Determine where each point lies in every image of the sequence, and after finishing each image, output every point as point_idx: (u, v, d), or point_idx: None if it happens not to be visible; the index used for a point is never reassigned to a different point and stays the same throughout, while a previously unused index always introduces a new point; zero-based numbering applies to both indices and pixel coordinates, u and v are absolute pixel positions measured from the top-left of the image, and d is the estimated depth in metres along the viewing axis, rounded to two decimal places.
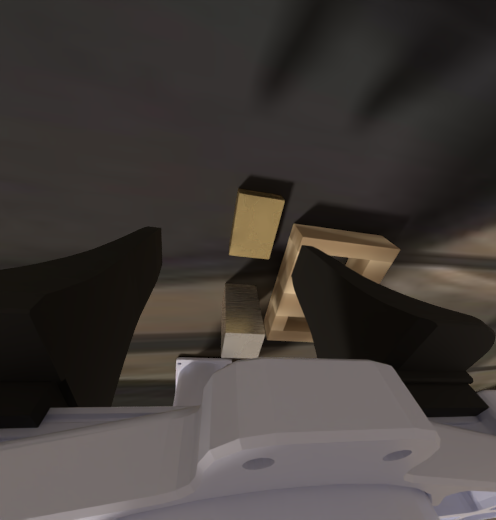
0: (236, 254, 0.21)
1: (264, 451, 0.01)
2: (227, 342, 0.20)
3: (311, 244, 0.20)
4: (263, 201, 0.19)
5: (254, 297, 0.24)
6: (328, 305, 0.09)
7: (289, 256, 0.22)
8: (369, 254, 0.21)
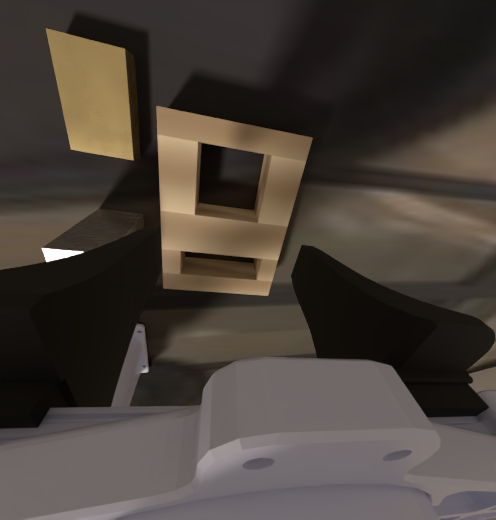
0: (81, 148, 0.15)
1: (264, 451, 0.01)
2: None
3: (174, 121, 0.13)
4: (90, 48, 0.12)
5: (129, 222, 0.18)
6: (328, 305, 0.09)
7: None
8: (268, 145, 0.15)
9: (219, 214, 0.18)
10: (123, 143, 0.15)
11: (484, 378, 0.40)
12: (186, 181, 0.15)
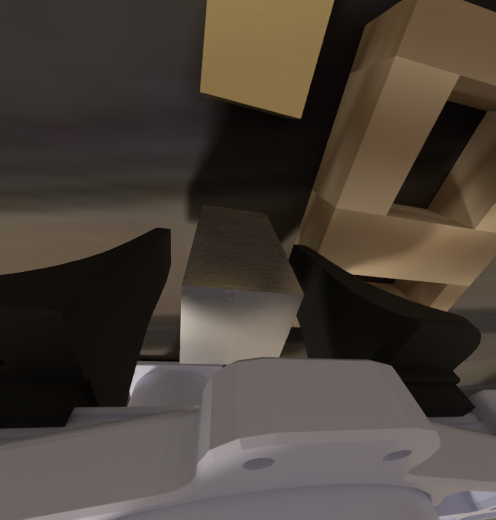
0: (219, 91, 0.08)
1: (264, 451, 0.01)
2: (191, 320, 0.07)
3: (440, 26, 0.07)
4: None
5: (265, 227, 0.11)
6: (318, 304, 0.09)
7: (355, 110, 0.09)
8: None
9: (410, 215, 0.11)
10: (295, 84, 0.08)
11: None
12: (402, 155, 0.09)
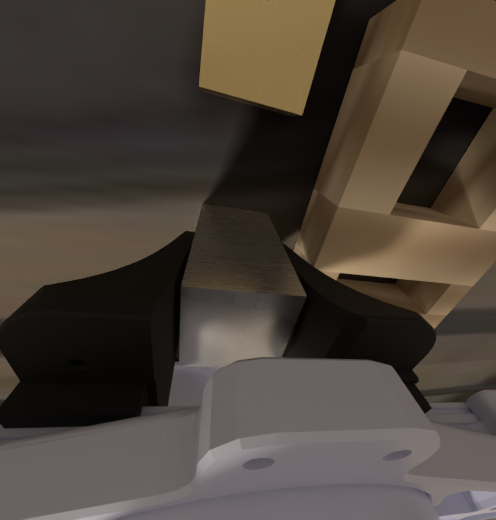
0: (218, 86, 0.08)
1: (264, 451, 0.01)
2: (191, 323, 0.07)
3: (447, 19, 0.06)
4: None
5: (266, 227, 0.10)
6: None
7: (358, 106, 0.09)
8: None
9: (414, 214, 0.11)
10: (296, 79, 0.08)
11: None
12: (407, 152, 0.08)
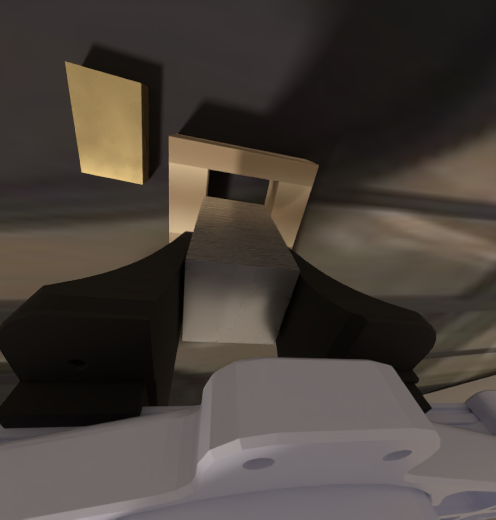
0: (92, 172, 0.15)
1: (264, 451, 0.01)
2: (194, 296, 0.07)
3: (185, 150, 0.14)
4: (107, 81, 0.13)
5: (263, 216, 0.11)
6: None
7: None
8: (275, 171, 0.15)
9: None
10: (133, 168, 0.15)
11: (476, 389, 0.41)
12: (195, 205, 0.16)
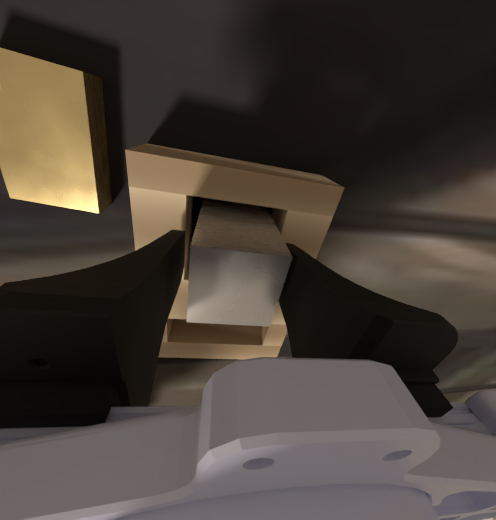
0: (25, 197, 0.11)
1: (264, 451, 0.01)
2: (198, 280, 0.08)
3: (152, 169, 0.10)
4: (30, 67, 0.08)
5: (261, 211, 0.12)
6: (302, 303, 0.09)
7: None
8: (283, 197, 0.11)
9: None
10: (84, 192, 0.11)
11: None
12: None
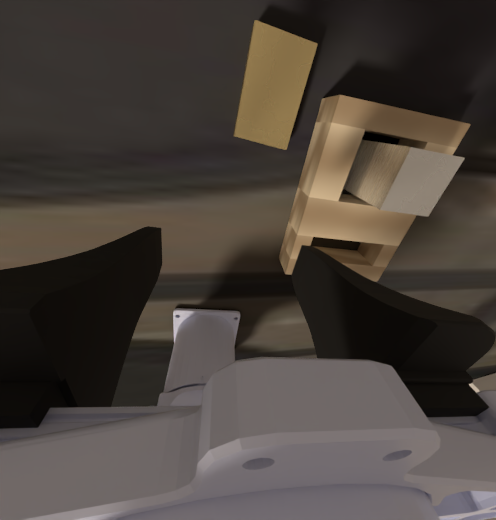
0: (243, 136, 0.16)
1: (264, 451, 0.01)
2: (403, 174, 0.13)
3: (351, 109, 0.14)
4: (287, 40, 0.13)
5: None
6: (328, 305, 0.09)
7: (317, 144, 0.16)
8: (428, 131, 0.15)
9: (355, 201, 0.18)
10: (283, 133, 0.16)
11: None
12: (342, 168, 0.16)
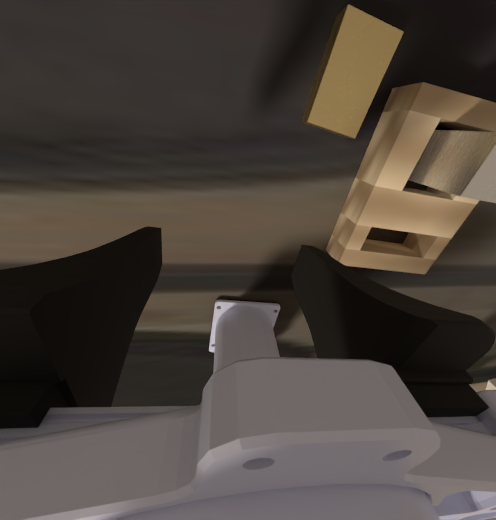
0: (316, 122, 0.16)
1: (264, 451, 0.01)
2: (490, 160, 0.13)
3: (430, 97, 0.14)
4: (375, 27, 0.13)
5: None
6: (328, 305, 0.09)
7: (386, 133, 0.16)
8: None
9: (415, 192, 0.19)
10: (355, 121, 0.16)
11: None
12: (412, 157, 0.16)
